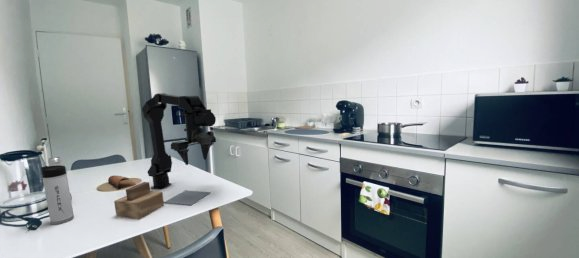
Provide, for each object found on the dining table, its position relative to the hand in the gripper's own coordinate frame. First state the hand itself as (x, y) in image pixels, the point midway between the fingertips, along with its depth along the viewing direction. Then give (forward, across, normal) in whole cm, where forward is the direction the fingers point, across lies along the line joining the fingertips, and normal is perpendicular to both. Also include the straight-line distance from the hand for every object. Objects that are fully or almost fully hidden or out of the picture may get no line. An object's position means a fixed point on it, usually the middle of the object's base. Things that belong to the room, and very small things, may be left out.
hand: (196, 162), depth 109 cm
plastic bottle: (+15, -34, +43) cm, 57 cm away
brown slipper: (+15, -8, +49) cm, 52 cm away
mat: (+14, -5, 0) cm, 15 cm away
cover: (+14, -22, +6) cm, 26 cm away
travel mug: (+14, -39, +25) cm, 49 cm away
